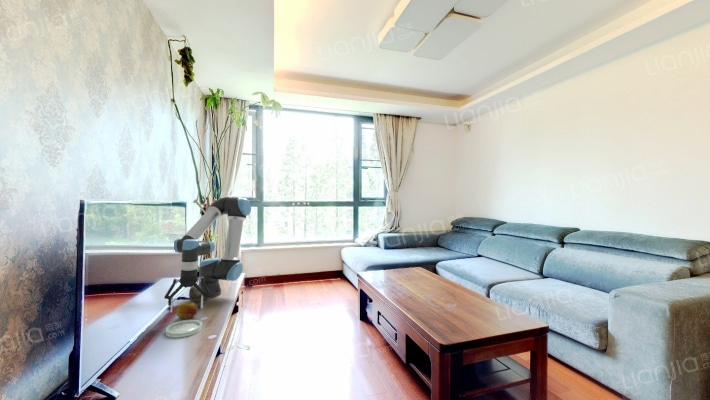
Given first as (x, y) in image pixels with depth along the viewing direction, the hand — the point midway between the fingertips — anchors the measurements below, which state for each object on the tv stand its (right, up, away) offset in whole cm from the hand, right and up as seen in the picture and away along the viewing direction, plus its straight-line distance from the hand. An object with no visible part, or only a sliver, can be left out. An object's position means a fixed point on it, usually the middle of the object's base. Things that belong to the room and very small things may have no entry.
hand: (186, 309), depth 147 cm
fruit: (0, -5, 0) cm, 5 cm away
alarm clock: (-4, -4, +15) cm, 17 cm away
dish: (+7, -5, -13) cm, 15 cm away
